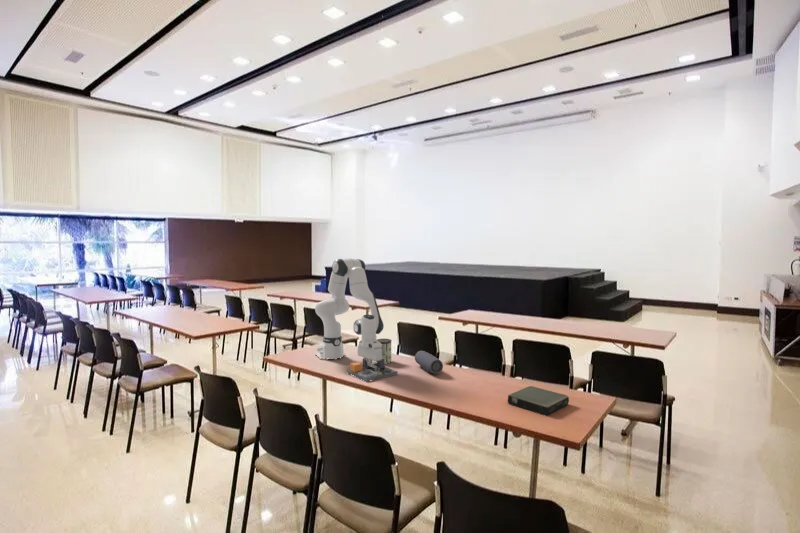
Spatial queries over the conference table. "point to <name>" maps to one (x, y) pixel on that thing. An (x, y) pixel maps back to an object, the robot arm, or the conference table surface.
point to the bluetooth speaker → (428, 362)
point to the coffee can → (386, 350)
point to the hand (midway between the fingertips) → (369, 365)
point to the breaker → (380, 363)
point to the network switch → (538, 400)
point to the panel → (373, 372)
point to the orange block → (355, 367)
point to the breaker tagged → (365, 363)
